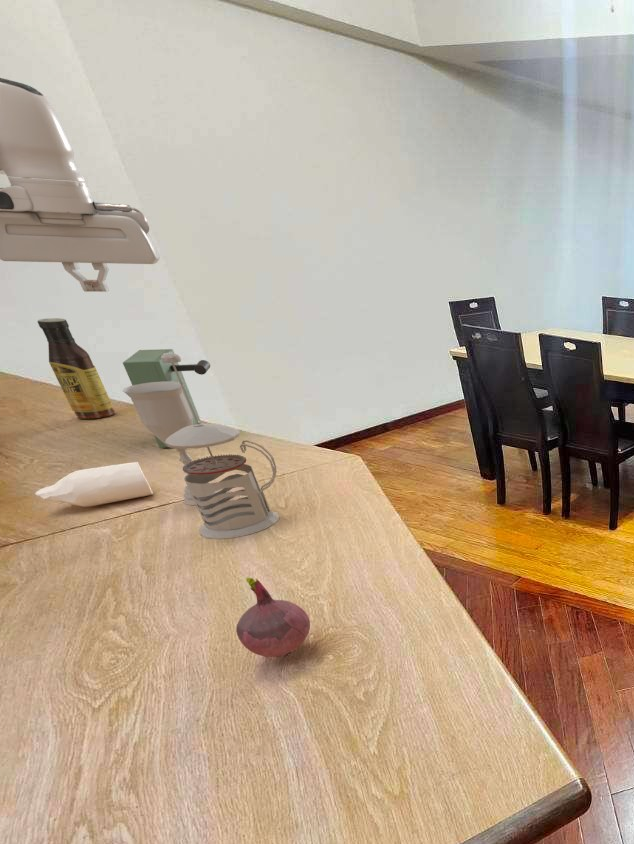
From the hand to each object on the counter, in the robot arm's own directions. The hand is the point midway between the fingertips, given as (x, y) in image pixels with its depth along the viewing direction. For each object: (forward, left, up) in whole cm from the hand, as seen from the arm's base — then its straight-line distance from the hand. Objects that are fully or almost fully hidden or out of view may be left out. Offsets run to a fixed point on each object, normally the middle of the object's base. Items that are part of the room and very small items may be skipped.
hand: (96, 291), depth 104 cm
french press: (+18, -49, -28) cm, 59 cm away
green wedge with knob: (+1, 0, -19) cm, 19 cm away
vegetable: (+25, -88, -28) cm, 96 cm away
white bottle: (-2, -32, -28) cm, 42 cm away
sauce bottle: (-15, +24, -28) cm, 40 cm away
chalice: (+11, -36, -28) cm, 47 cm away
